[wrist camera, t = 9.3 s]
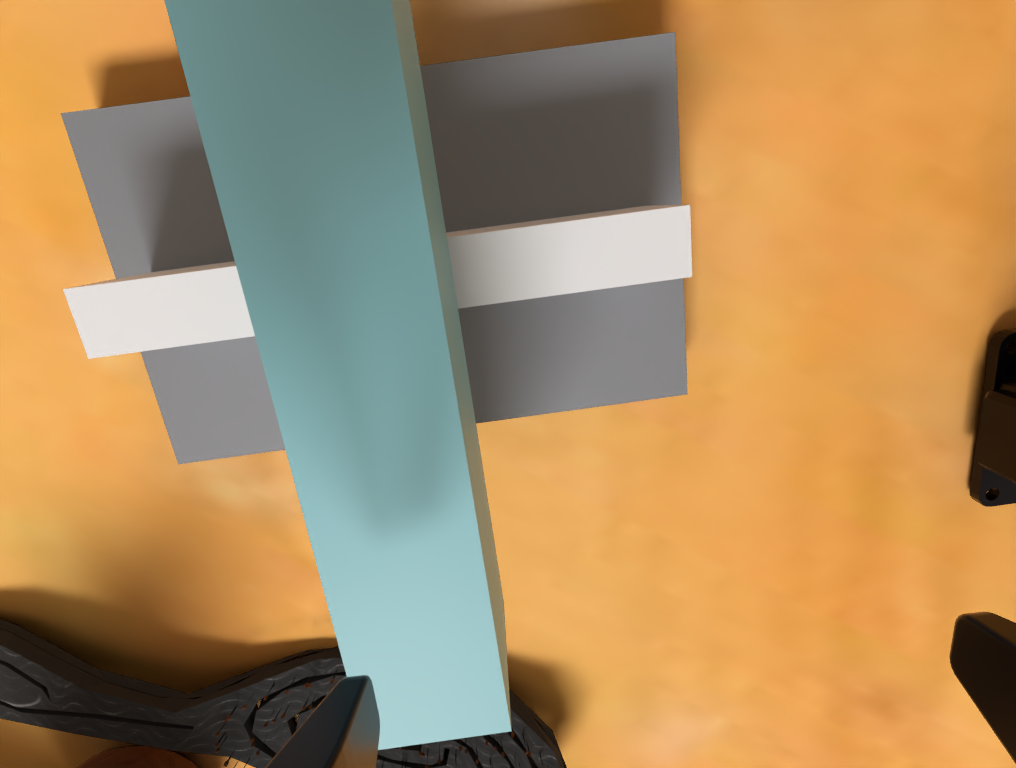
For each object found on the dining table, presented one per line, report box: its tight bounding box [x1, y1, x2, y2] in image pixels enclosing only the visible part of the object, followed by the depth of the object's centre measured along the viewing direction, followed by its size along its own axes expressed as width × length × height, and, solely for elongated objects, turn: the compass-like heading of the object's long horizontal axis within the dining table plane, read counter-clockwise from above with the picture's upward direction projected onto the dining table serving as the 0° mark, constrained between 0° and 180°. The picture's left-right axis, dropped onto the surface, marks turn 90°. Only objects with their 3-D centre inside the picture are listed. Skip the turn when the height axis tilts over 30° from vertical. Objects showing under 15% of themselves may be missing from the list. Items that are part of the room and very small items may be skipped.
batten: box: [165, 0, 512, 750], centre depth 11 cm, size 18×3×4 cm, turn 7°
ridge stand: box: [61, 32, 692, 464], centre depth 15 cm, size 16×10×5 cm, turn 97°
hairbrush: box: [0, 619, 567, 768], centre depth 21 cm, size 8×4×25 cm
